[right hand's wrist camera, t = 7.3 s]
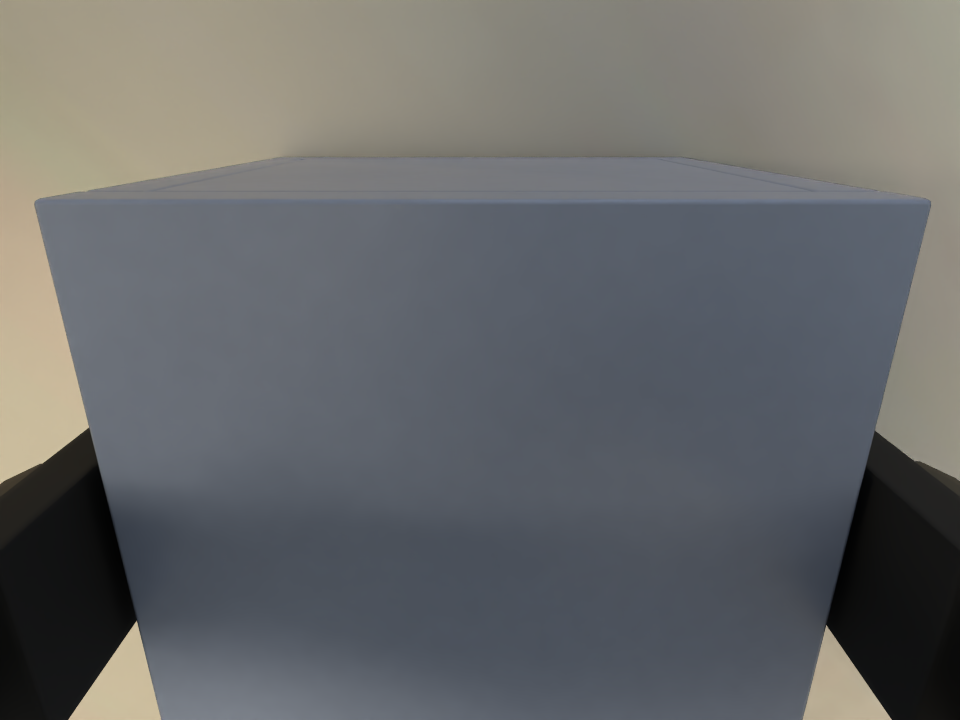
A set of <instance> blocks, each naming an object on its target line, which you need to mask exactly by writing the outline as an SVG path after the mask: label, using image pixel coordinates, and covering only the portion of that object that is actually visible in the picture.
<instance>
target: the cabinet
mask: <svg viewBox="0 0 960 720" xmlns="http://www.w3.org/2000/svg"><path fill="white" fill-rule="evenodd" d="M930 207H931V201H929V200H928V199H926V198H920V197H914V196H908V195H902V194H896V193H890V192H878V191H876V190H871V189H865V188H859V187H853V186H847V185H841V184H836V183H830V182H824V181H818V180H812V179H806V178H800V177H795V176H789V175H783V174H777V173H771V172H765V171H759V170H754V169H748V168H742V167H736V166H730V165H724V164H718V163H713V162H707V161H701V160H695V159H690V158H684V157H279V158H273V159H268V160H262V161H256V162H250V163H244V164H239V165H233V166H227V167H221V168H216V169H210V170H204V171H198V172H192V173H187V174H181V175H175V176H169V177H164V178H158V179H152V180H146V181H140V182H135V183H129V184H123V185H117V186H112V187H106V188H100V189H94V190H89V191H87V192H75V193H69V194H63V195H57V196H51V197H46V198H40V199H38V200H36V201H35V209H36V213H37V217H38V221H39V225H40V229H41V234H42V238H43V242H44V246H45V250H46V254H47V258H48V262H49V266H50V270H51V274H52V278H53V282H54V286H55V290H56V294H57V298H58V302H59V306H60V311H61V315H62V319H63V323H64V327H65V331H66V335H67V339H68V343H69V347H70V351H71V355H72V359H73V363H74V367H75V371H76V375H77V379H78V383H79V388H80V392H81V396H82V400H83V404H84V408H85V412H86V416H87V420H88V424H89V428H90V432H91V436H92V440H93V444H94V448H95V452H96V456H97V461H98V465H99V469H100V473H101V477H102V481H103V485H104V489H105V493H106V497H107V501H108V505H109V509H110V513H111V517H112V521H113V525H114V529H115V533H116V538H117V542H118V546H119V550H120V554H121V558H122V562H123V566H124V570H125V574H126V578H127V582H128V586H129V590H130V594H131V598H132V602H133V606H134V610H135V615H136V619H137V623H138V627H139V631H140V635H141V639H142V643H143V647H144V651H145V655H146V659H147V663H148V667H149V671H150V675H151V679H152V683H153V688H154V692H155V696H156V700H157V704H158V708H159V712H160V716H161V720H803V716H804V712H805V708H806V704H807V700H808V696H809V692H810V688H811V684H812V680H813V676H814V672H815V668H816V663H817V659H818V655H819V651H820V647H821V643H822V639H823V635H824V631H825V627H826V623H827V619H828V615H829V611H830V607H831V603H832V599H833V595H834V591H835V587H836V583H837V579H838V575H839V571H840V567H841V563H842V559H843V555H844V551H845V547H846V543H847V539H848V535H849V531H850V527H851V523H852V519H853V515H854V511H855V507H856V503H857V499H858V495H859V491H860V487H861V483H862V479H863V475H864V471H865V467H866V463H867V459H868V455H869V451H870V447H871V443H872V439H873V435H874V431H875V427H876V423H877V419H878V415H879V411H880V407H881V403H882V399H883V395H884V391H885V387H886V383H887V379H888V375H889V371H890V367H891V363H892V359H893V355H894V351H895V347H896V343H897V339H898V335H899V331H900V327H901V323H902V319H903V315H904V311H905V307H906V303H907V299H908V295H909V291H910V287H911V283H912V279H913V275H914V271H915V267H916V263H917V259H918V255H919V251H920V247H921V243H922V239H923V235H924V231H925V227H926V223H927V219H928V215H929V211H930Z"/></svg>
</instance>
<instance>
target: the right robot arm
mask: <svg viewBox="0 0 960 720" xmlns="http://www.w3.org/2000/svg"><path fill="white" fill-rule="evenodd" d="M136 621H137V619H136V615H135V610H134V606H133V602H132V598H131V594H130V590H129V586H128V582H127V578H126V574H125V570H124V566H123V562H122V558H121V554H120V550H119V546H118V542H117V538H116V533H115V529H114V525H113V521H112V517H111V513H110V509H109V505H108V501H107V497H106V493H105V489H104V485H103V481H102V477H101V473H100V469H99V465H98V461H97V456H96V452H95V448H94V444H93V440H92V436H91V432H90V428H88V429H87V430H85V431H84V432H83V433H82V434H80V435H79V436H78V437H76V438H75V439H74V440H73V441H71V442H70V443H69V444H67V445H66V446H65V447H64V448H62V449H61V450H60V451H58V452H57V453H56V454H55V455H53V456H52V457H51V458H49V459H48V460H47V461H46V462H44V463H43V464H39V465H37V466H35V467H33V468H31V469H28V470H26V471H24V472H22V473H20V474H18V475H16V476H14V477H12V478H10V479H8V480H6V481H4V482H3V483H1V484H0V720H68V719H69V718H70V716H71V715H72V713H73V712H74V710H75V709H76V707H77V706H78V705H79V703H80V702H81V700H82V699H83V697H84V696H85V694H86V693H87V692H88V690H89V689H90V687H91V686H92V684H93V683H94V681H95V680H96V679H97V677H98V676H99V674H100V673H101V671H102V670H103V668H104V667H105V666H106V664H107V663H108V661H109V660H110V658H111V657H112V655H113V654H114V653H115V651H116V650H117V648H118V647H119V645H120V644H121V642H122V641H123V640H124V638H125V637H126V635H127V634H128V632H129V631H130V629H131V628H132V627H133V625H134V624H135V622H136ZM826 625H827V626H828V628H829V629H830V631H831V632H832V634H833V635H834V637H835V638H836V640H837V641H838V642H839V644H840V645H841V647H842V648H843V650H844V651H845V653H846V654H847V655H848V657H849V658H850V660H851V661H852V663H853V664H854V666H855V667H856V668H857V670H858V671H859V673H860V674H861V676H862V677H863V679H864V680H865V681H866V683H867V684H868V686H869V687H870V689H871V690H872V692H873V693H874V694H875V696H876V697H877V699H878V700H879V702H880V703H881V705H882V706H883V707H884V709H885V710H886V712H887V713H888V715H889V716H890V718H891V719H892V720H960V481H959V480H957V479H956V478H954V477H952V476H950V475H947V474H945V473H943V472H941V471H939V470H937V469H935V468H933V467H931V466H929V465H926V464H924V463H922V462H914V461H913V460H912V459H911V458H909V457H908V456H907V455H905V454H904V453H903V452H902V451H900V450H899V449H898V448H896V447H895V446H894V445H893V444H891V443H890V442H889V441H887V440H886V439H885V438H884V437H882V436H881V435H880V434H878V433H877V432H876V431H874V435H873V439H872V443H871V447H870V451H869V455H868V459H867V463H866V467H865V471H864V475H863V479H862V483H861V487H860V491H859V495H858V499H857V503H856V507H855V511H854V515H853V519H852V523H851V527H850V531H849V535H848V539H847V543H846V547H845V551H844V555H843V559H842V563H841V567H840V571H839V575H838V579H837V583H836V587H835V591H834V595H833V599H832V603H831V607H830V611H829V615H828V619H827V623H826Z"/></svg>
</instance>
